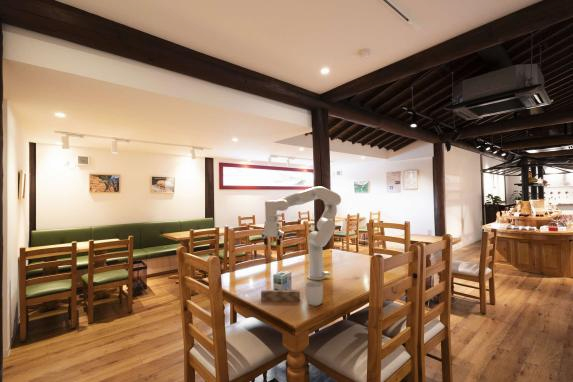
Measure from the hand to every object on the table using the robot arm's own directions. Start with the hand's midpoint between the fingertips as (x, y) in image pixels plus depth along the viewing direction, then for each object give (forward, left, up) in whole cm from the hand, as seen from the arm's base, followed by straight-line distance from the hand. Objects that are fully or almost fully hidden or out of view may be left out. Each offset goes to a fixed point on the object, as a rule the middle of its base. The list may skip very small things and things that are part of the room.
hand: (272, 244), depth 177 cm
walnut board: (-8, +30, -25) cm, 40 cm away
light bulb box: (-8, +16, -25) cm, 31 cm away
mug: (-27, +32, -25) cm, 48 cm away
